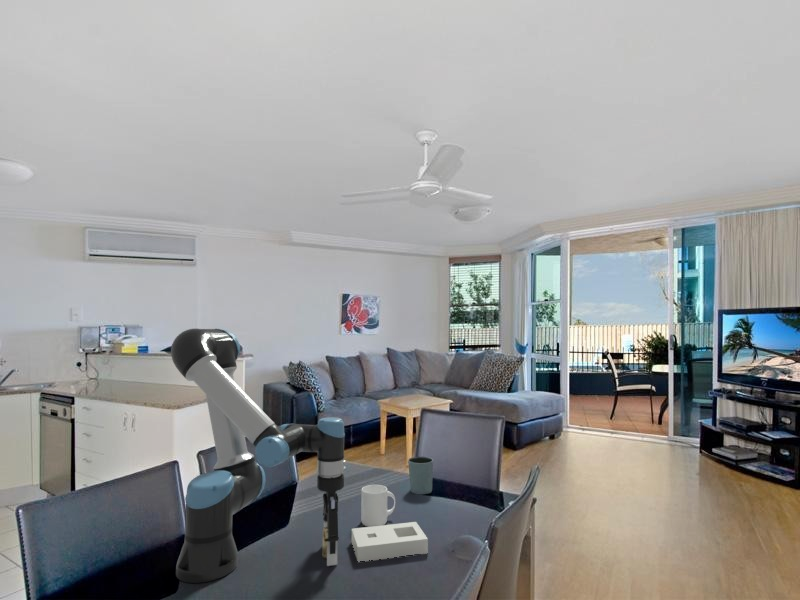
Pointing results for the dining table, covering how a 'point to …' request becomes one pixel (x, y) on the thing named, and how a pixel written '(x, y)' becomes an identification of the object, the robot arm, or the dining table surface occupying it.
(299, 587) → the dining table surface
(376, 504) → the mug
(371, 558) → the block
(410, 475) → the grey-green cup
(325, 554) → the cylinder
